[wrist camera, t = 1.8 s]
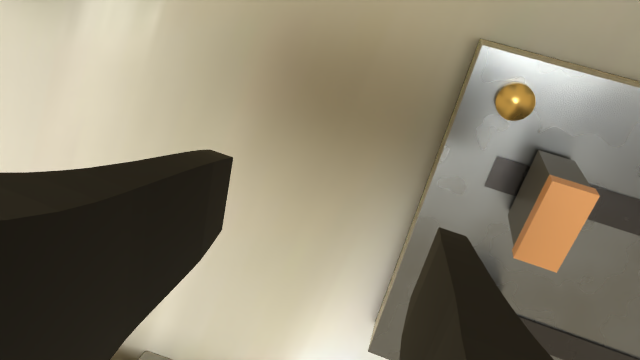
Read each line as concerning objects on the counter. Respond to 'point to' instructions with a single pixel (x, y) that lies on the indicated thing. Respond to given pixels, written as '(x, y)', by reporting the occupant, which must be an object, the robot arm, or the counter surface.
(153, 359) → the circuit breaker
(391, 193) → the counter surface
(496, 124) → the panel
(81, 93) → the counter surface
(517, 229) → the tagged lever
